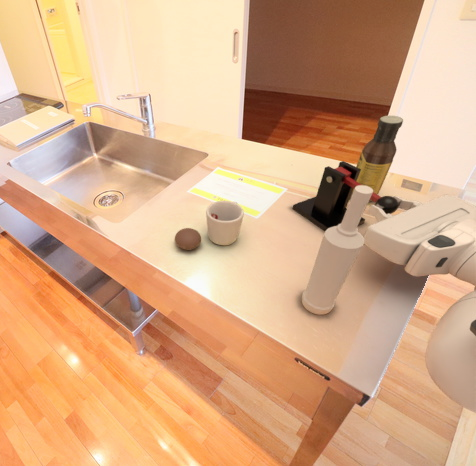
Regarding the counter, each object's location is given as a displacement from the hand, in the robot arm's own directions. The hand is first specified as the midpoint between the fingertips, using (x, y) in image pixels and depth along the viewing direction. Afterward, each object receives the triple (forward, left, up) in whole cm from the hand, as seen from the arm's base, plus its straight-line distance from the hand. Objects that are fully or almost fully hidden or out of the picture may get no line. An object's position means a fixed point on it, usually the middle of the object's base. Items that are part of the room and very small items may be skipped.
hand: (380, 203), depth 63 cm
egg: (+30, +23, -10) cm, 39 cm away
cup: (+25, +15, -10) cm, 30 cm away
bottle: (+2, +23, -10) cm, 25 cm away
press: (+9, -4, -10) cm, 14 cm away
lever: (+4, -2, -1) cm, 5 cm away
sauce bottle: (+5, -16, -10) cm, 20 cm away
